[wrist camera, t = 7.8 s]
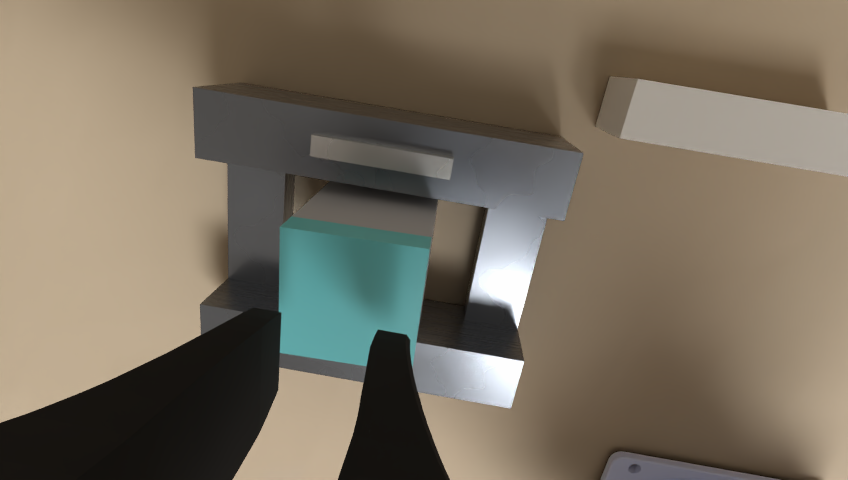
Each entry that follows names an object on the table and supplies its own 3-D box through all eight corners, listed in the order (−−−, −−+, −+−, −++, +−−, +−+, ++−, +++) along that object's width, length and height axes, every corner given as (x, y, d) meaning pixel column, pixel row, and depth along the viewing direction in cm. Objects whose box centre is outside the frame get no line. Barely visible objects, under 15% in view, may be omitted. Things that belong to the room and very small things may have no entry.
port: (561, 136, 15) (586, 155, 12) (503, 356, 19) (511, 414, 16) (241, 82, 16) (186, 87, 12) (240, 310, 19) (197, 358, 16)
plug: (440, 185, 16) (429, 249, 11) (427, 275, 18) (411, 373, 12) (341, 171, 16) (279, 226, 11) (335, 261, 18) (278, 352, 12)
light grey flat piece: (945, -135, 12) (1060, -181, 10) (805, 162, 15) (868, 180, 13) (682, -176, 12) (734, -231, 10) (595, 126, 15) (619, 138, 13)
